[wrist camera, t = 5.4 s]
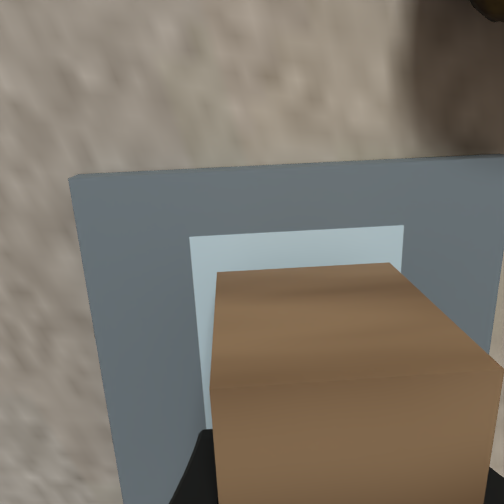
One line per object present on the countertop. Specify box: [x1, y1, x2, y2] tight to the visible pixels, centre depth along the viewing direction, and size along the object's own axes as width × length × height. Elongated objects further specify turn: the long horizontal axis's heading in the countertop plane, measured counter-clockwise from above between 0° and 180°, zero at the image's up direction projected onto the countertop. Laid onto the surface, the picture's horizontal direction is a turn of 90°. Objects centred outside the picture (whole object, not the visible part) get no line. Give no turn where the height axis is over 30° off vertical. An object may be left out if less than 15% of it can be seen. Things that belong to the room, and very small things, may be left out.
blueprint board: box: [68, 154, 504, 504], centre depth 14 cm, size 14×12×1 cm
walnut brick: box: [209, 262, 504, 504], centre depth 10 cm, size 9×4×5 cm, turn 2°
